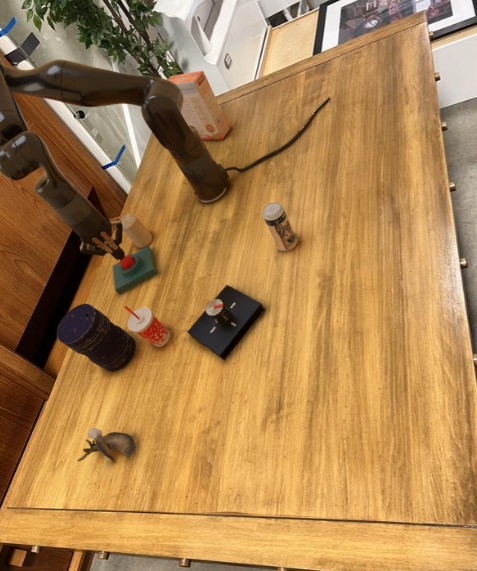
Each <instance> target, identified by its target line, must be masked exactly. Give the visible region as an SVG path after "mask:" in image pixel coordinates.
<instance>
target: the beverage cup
mask: <svg viewBox="0 0 477 571" xmlns="http://www.w3.org/2000/svg"><path fill="white" fill-rule="evenodd" d="M124 309H125V310H127V311H128V312H129V313H130V316H129V318H128V320H127V328H128V329H129V330H130V332H132V333H134V334H137V335H138V336H140V337H141V338H143V339H144V340H146V342H149V343H150V344H152V345H153V346H154V347H157V348H160V347H163V346H165V345H166V344H168V342H169V340H170V337H171V332H170V331H169V330H168V328H167V327H165V325H164V324H163V323H162V322H161V321H160V320H159V319H158V318H157V316H156V315H154V312H153V311H152V310H151V309H150V308H149V307H146V306H143V307H139V308H137V309H135V310H134V311H133V310H131V309H130V307H128V306H127V305H125V306H124Z"/></svg>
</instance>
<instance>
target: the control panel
mask: <svg viewBox="0 0 477 571" xmlns="http://www.w3.org/2000/svg"><path fill="white" fill-rule="evenodd" d="M214 299H220V300H221V301H222V302H223V303H224V304H225V306H226V307H227V308H228V310H229V311H230V312H231V320H230V321H229V322H228V323H227V324H226V325H223V326H219V325H217V324H216V323H215V322H214V321H213V320H212V319H211V318H210V316H209V315H208V314H207V313H206V309H205V310H204V311H203V312H202V313H201V315H199V316H198V318H197V319H196V320H195V321H194V322H193V324H192V325H191V326H190V327H189V329H188V330H187V331H186V333H187V334H188V335H189V336H191V338H192V339H194V340H195V341H197V343H200V345H202V346H204V347H205V348H206V349H207V350H209V351H211V352H212V353H214V355H216V356H217V357H218V358H220V359H222V361H224V362H225V361H226V360H227V358H228V357H229V355H231V353H232V352H233V351H234V350H235V348H236V347H237V346H238V344H240V342H241V340H242V339H243V338H244V337H245V336H246V334H247V333H248V332H249V330H250V329H251V328H252V327H253V325H254V324H255V323H256V321H257V320H258V319H259V318H260V317H261V315H262V314H263V313H264V311H265V310H266V308H265V307H264V305H263V304H262V302H259V301H258V300H256V299H254V298H252V296H248V294H245V293H243V292H242V291H239V290H238V289H236V288H234V287H232V286H230V285H228V284H226V285H224V287H223V288H222V289H221V291H220V292H219V293H218V294H217V295H216V296H215V297H214Z"/></svg>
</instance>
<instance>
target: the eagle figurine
mask: <svg viewBox="0 0 477 571" xmlns="http://www.w3.org/2000/svg"><path fill="white" fill-rule="evenodd" d="M87 436H88V437H89V438H90V439H92V441H91V440H89V439H85V442H86V443H87V444H88V445H89V448H88V447H87V448H86V447H85V448H83V449H82V452H83V453H84V454H83V455H82V456H81V457H80V458H78V459H77V460H76V461H77V462H81V461H83V460H85V459H86V458H87V457H88V456H89V455H91V454H92V453H95V452H99V453H100V454H101V455H102V456H103V457H104V458H105V459H106V460H107V461H109V463H110V464H111V463H112V462H113V463H117V461H116V460H115V458H114V456H113V453H112V450H114V451H117V452H120V453H121V454H122V455H124V456H125V457H127V458H128V457H130V456H131V455H132V454H133V453H134V452H135V450H136V446H135V445H136V443H135V442H134V441H135V440H134V439H133V436H131V435H130V434H128V433H124V432H117V431H112V432H108V433H107V434H105V435H103V430H102V429H100V428H97V427H91V428H90V429H89V430H88V432H87Z"/></svg>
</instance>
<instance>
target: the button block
mask: <svg viewBox="0 0 477 571" xmlns="http://www.w3.org/2000/svg"><path fill="white" fill-rule="evenodd" d="M129 255H130V256H131V257H132V258H133V259H134V261H135V262H134V265H133V266H132V267H131V268H129V269H124V268H123V267H122V266H121V265H120V261H118V262H117V263H115V264H113V265H112V273H113V274H112V275H113V284H114V291H115V292H116V293H118V294H119V295H122V294H123V293H125V292H127V291H129V290H131V289H133V288H134V287H136V286H138V285H140V284H142V283H143V282H145V281H147V280H150V279H151V278H153V277H154V276H156V275H158V269H157V265H156V259H155V256H154V250H153V249H152V248H151V247H150V245H147V246H145V247H143V248H141V249H140V250H138V251H136V252H134V253H129Z"/></svg>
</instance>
